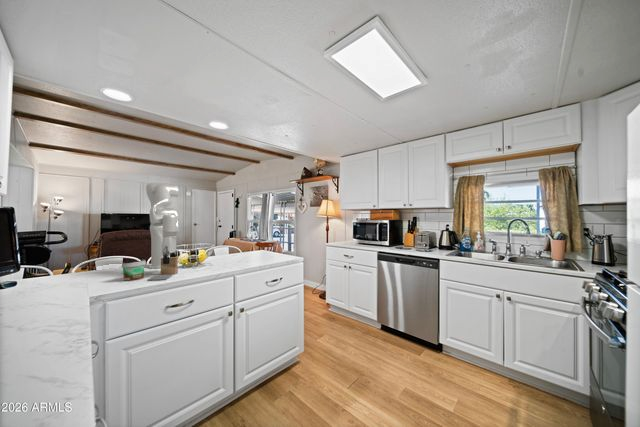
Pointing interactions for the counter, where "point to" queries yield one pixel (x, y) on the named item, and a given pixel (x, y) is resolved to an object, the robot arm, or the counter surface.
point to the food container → (133, 270)
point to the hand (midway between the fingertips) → (169, 262)
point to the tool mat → (159, 277)
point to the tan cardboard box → (170, 266)
